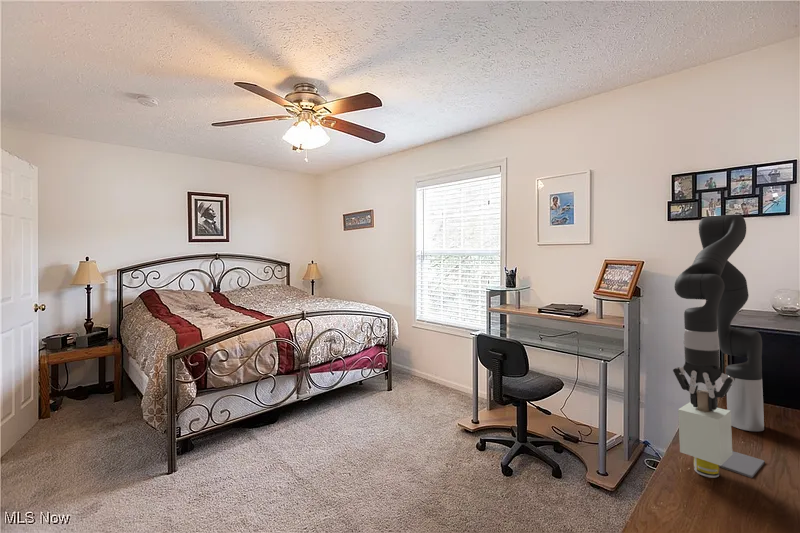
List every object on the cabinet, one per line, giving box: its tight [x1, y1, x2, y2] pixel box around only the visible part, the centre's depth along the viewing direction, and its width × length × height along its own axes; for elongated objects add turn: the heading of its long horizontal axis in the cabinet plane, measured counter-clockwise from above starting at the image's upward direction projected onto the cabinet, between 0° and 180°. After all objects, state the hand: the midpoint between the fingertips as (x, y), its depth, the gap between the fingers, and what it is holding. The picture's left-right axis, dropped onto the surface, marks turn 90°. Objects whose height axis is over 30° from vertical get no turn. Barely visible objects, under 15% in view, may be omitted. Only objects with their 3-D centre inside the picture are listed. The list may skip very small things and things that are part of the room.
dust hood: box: [677, 389, 733, 466], centre depth 103 cm, size 9×9×17 cm
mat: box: [719, 450, 765, 479], centre depth 108 cm, size 12×12×1 cm
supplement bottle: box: [693, 457, 720, 479], centre depth 103 cm, size 5×5×10 cm
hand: (703, 408), depth 103 cm, fingers closed on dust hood, 3 cm apart
